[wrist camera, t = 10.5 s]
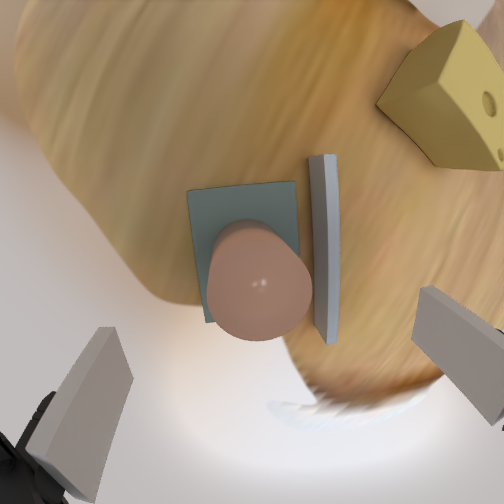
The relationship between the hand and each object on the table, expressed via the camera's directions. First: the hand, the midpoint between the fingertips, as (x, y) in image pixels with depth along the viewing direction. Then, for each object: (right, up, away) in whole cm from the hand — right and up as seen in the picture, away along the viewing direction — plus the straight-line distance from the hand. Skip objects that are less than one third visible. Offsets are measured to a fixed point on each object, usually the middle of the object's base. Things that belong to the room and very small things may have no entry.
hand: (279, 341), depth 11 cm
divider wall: (+5, +4, +15) cm, 16 cm away
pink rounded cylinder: (-2, +3, +14) cm, 14 cm away
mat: (-2, +3, +14) cm, 15 cm away
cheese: (+17, +19, +12) cm, 28 cm away
